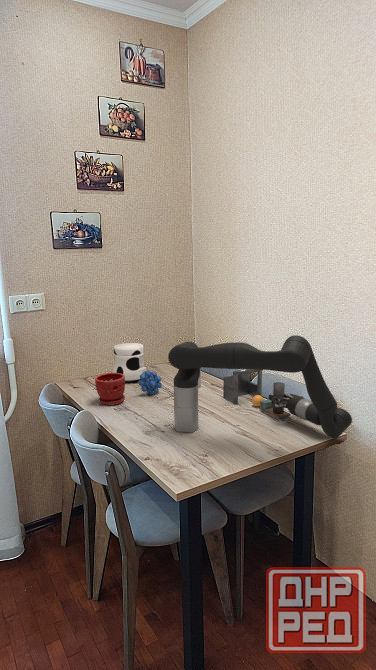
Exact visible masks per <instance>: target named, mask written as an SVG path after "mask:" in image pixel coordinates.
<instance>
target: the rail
mask: <svg viewBox="0 0 376 670" xmlns="http://www.w3.org/2000/svg"><path fill="white" fill-rule="evenodd" d="M259 411H260V412H261V413H264V414H265V415H267V414H268V416H269V415H270V417H271V416H272V418H273V417H274V419H275V418H276V420H277V419H278V420H277V421H279V420H280V422H281V421H282V422H285V421H284V420H286V421H289V420H288V419H290V420H292V417H291V416H288V417H283V418H277V417H275V416H273V415H271V414H269V413H267V412H265V411H263V410H261V409H260V408H259Z"/></svg>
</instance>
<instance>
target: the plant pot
mask: <svg viewBox="0 0 376 670" xmlns="http://www.w3.org/2000/svg"><path fill="white" fill-rule="evenodd" d="M116 379H117V380H116ZM94 381H95V382H94V384H95V389H96V392H97V395H98V397H99V398H98V402H99V403H100V404H102V405H105V406H106V405H107V406H114V405H118V404H120V403H123V402H124V401H125V399H126V396H125V395H124V393H125V388H126V382H125V376H124V375H123V374H121V373H113V372H107V373H103V374H99V375H97V376H96V377H95V378H94Z"/></svg>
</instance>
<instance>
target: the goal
mask: <svg viewBox="0 0 376 670" xmlns="http://www.w3.org/2000/svg"><path fill="white" fill-rule="evenodd" d="M263 371H264V370H258V369H237V370H233V371H232V375H228V376H223V388H222V390H223V391H222V392H223V399H224V400H226V401H228V402H230V403H232V404H233V405H238V404H239V397H240V396H245V395H249V396H250V397H252V398H253V397H254V396H256V395H260V396H262V397H263V395H262V393H263V392H262V391H263V390H262V387H263ZM253 373H257V377H256V378H257V381H256V383H254V382H253V381H251V374H253Z"/></svg>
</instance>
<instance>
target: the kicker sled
mask: <svg viewBox="0 0 376 670" xmlns="http://www.w3.org/2000/svg"><path fill="white" fill-rule="evenodd" d="M272 386H273V390H272V391H273V393H272V395H274V396H276V397H284V394H285V388H286V387H285V383H284V382H279V381H276V382H274V383H273V384H272ZM277 401H279V400H278V399H277ZM260 409H261V410H263V411H265V412H267V413H269V414H271V415H273V416H275V417H277V418H283V417H288V416H289V417H291V416H292V414H291V413H290V412H288V411H286V410H285V408H283V407H279V409H276V408H275V407H274V406H273V405H272V404H271V400H269V398H268V399H264V400H263V401H260V407H259V410H260Z"/></svg>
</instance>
